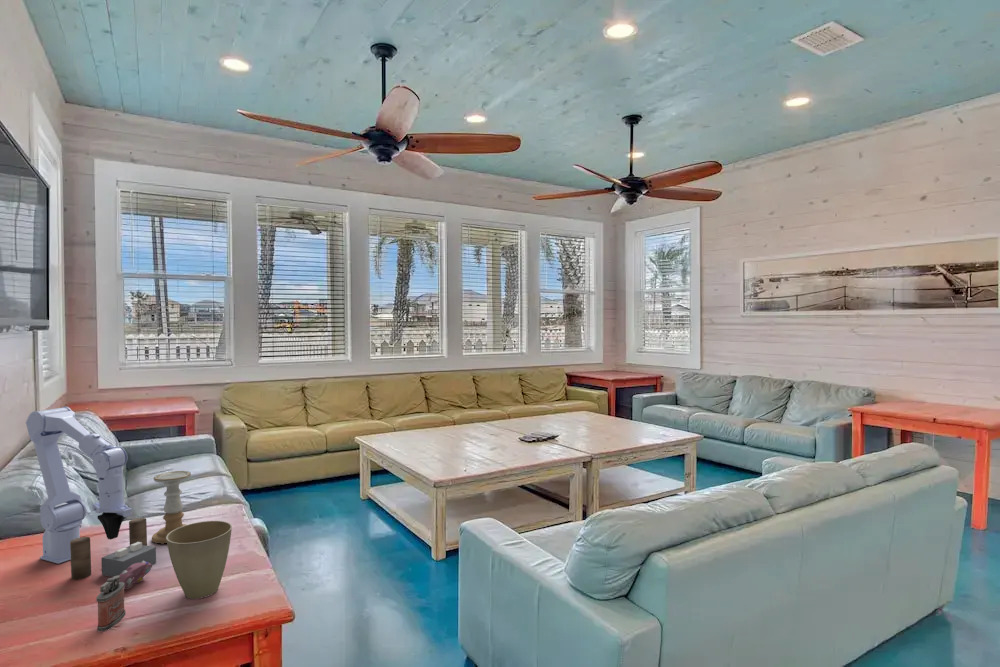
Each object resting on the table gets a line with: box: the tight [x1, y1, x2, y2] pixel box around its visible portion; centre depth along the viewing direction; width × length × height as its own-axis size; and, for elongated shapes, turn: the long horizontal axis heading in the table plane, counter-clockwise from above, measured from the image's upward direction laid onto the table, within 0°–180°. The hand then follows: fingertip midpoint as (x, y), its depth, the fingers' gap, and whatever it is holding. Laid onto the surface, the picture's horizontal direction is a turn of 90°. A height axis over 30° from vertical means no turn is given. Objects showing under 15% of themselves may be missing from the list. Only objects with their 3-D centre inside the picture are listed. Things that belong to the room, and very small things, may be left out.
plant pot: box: [166, 520, 233, 600], centre depth 146 cm, size 15×15×16 cm
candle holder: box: [151, 470, 192, 545], centre depth 183 cm, size 12×12×20 cm
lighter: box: [95, 576, 126, 632], centre depth 132 cm, size 8×3×10 cm, turn 5°
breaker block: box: [100, 542, 157, 578], centre depth 160 cm, size 8×10×7 cm
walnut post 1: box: [70, 536, 92, 581], centre depth 156 cm, size 4×4×10 cm
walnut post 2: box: [128, 517, 148, 546], centre depth 170 cm, size 4×4×10 cm
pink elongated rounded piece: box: [119, 560, 153, 590], centre depth 150 cm, size 10×5×7 cm, turn 169°
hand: (112, 538), depth 163 cm, fingers closed
